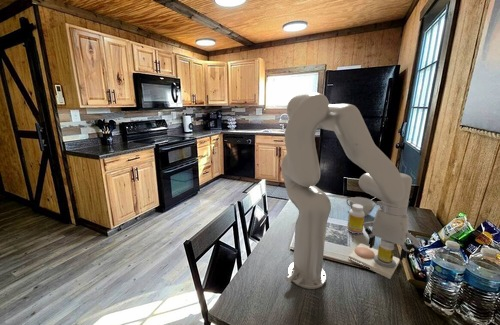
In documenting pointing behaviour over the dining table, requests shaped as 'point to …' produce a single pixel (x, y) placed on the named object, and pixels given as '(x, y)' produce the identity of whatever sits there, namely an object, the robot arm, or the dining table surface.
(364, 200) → the teacup
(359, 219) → the supplement bottle
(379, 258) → the supplement bottle
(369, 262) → the board
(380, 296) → the dining table surface
